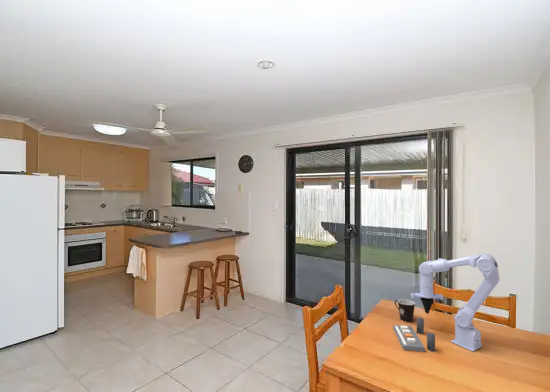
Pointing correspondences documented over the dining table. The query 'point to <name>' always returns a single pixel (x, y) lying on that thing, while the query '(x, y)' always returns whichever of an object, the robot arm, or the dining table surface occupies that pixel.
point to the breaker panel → (408, 338)
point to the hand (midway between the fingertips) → (426, 312)
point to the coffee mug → (406, 309)
